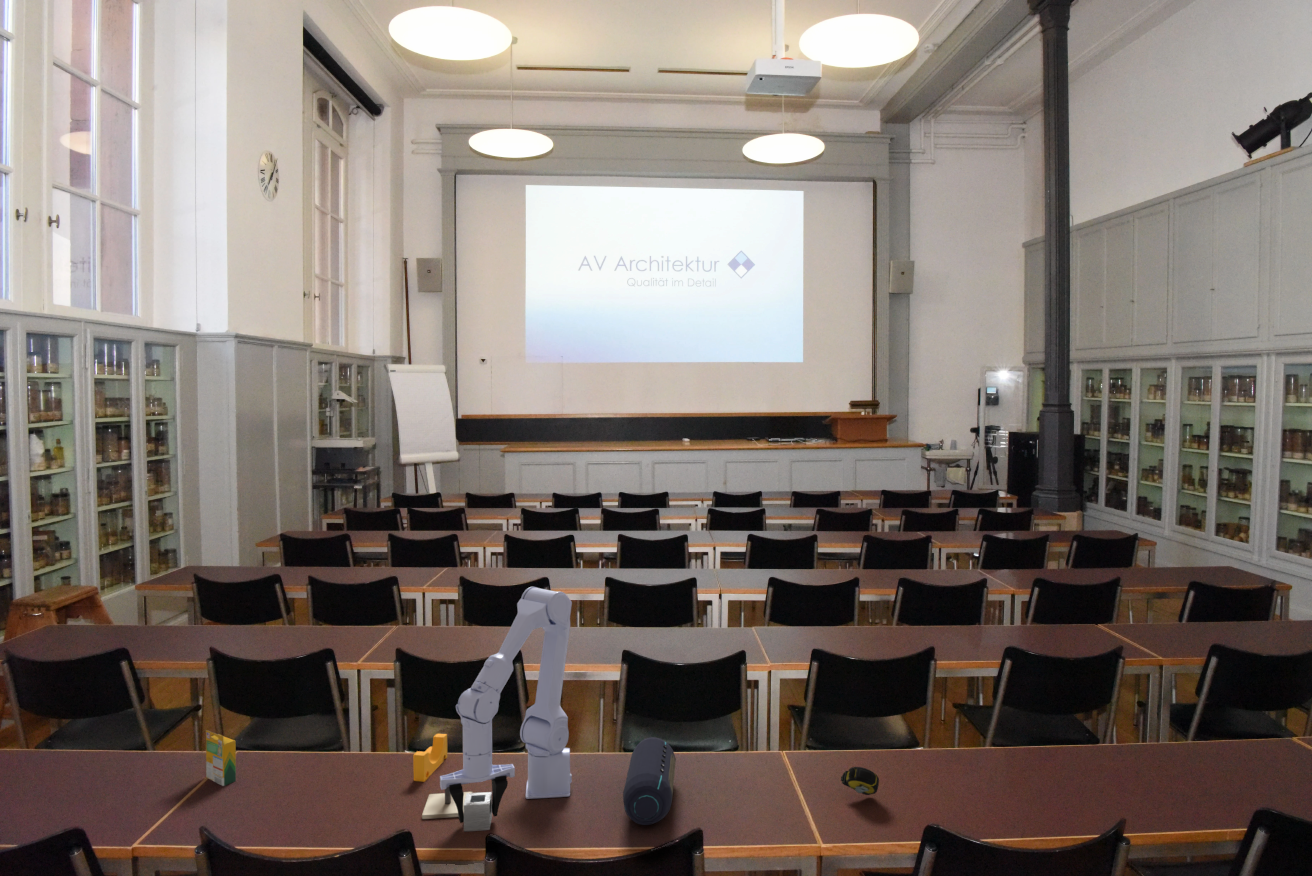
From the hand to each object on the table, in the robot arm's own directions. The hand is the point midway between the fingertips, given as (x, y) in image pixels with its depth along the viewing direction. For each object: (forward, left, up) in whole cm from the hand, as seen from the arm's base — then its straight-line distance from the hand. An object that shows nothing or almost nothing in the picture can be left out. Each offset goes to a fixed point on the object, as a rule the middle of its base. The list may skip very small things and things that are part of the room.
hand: (478, 817), depth 156 cm
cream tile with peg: (+7, -8, -1) cm, 11 cm away
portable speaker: (-35, -5, -2) cm, 36 cm away
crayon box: (+59, -26, -2) cm, 65 cm away
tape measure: (-80, -1, -2) cm, 80 cm away
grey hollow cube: (0, 0, -1) cm, 1 cm away
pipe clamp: (+14, -26, -2) cm, 30 cm away
